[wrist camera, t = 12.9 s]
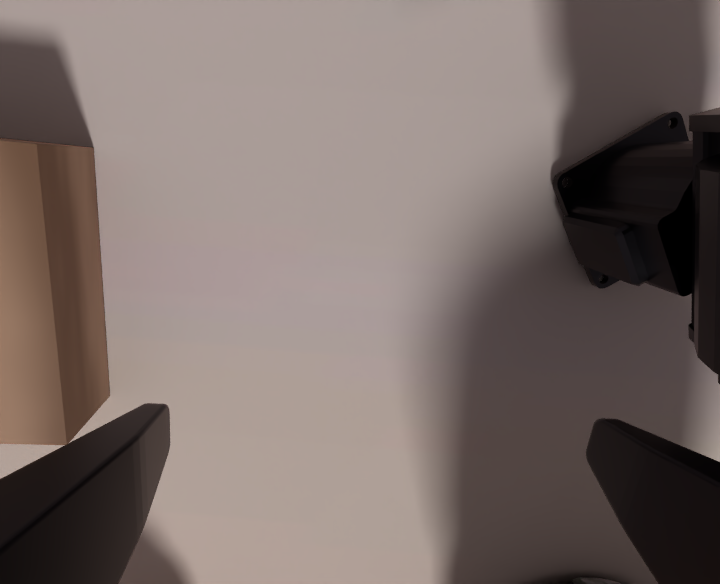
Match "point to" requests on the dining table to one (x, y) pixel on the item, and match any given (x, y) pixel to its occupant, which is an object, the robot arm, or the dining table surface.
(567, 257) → the dining table surface
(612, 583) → the canister
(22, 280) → the walnut pedestal
